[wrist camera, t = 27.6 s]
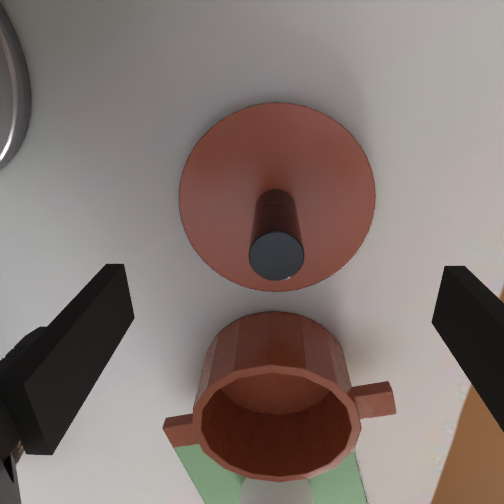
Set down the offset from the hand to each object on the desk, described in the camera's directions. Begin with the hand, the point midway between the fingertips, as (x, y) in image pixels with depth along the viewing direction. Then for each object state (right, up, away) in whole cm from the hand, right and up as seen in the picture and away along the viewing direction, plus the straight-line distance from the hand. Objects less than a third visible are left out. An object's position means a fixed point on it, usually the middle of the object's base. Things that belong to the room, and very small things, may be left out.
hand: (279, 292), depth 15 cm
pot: (+1, -9, +17) cm, 19 cm away
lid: (+1, +5, +10) cm, 11 cm away
